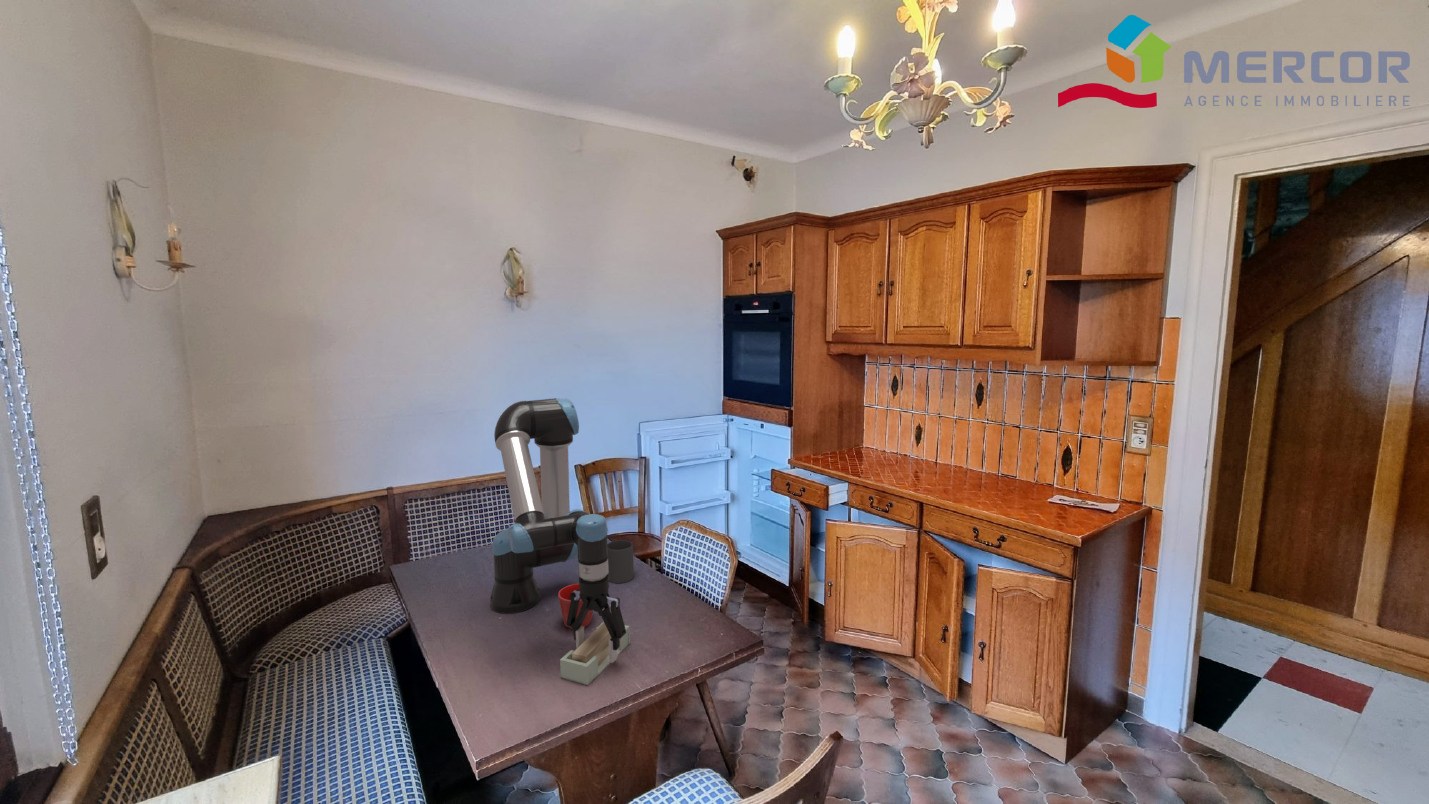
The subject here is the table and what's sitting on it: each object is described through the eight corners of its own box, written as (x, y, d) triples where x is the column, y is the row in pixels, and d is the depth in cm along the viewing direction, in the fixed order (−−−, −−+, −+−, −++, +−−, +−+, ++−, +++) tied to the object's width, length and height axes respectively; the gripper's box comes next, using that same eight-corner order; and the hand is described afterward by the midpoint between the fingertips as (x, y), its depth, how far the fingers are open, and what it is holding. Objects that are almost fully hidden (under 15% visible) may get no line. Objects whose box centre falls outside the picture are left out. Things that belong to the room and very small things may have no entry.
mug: (639, 577, 199) (638, 544, 197) (616, 586, 193) (615, 552, 191) (617, 565, 209) (616, 534, 207) (595, 573, 203) (593, 541, 201)
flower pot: (603, 616, 173) (602, 585, 172) (583, 634, 163) (582, 602, 162) (573, 610, 177) (571, 580, 176) (552, 628, 167) (550, 597, 165)
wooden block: (573, 675, 144) (572, 653, 143) (605, 641, 159) (604, 621, 158) (587, 678, 143) (586, 656, 142) (618, 644, 157) (617, 624, 157)
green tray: (560, 678, 144) (560, 659, 143) (605, 637, 162) (604, 620, 161) (587, 685, 141) (587, 666, 140) (629, 643, 159) (629, 626, 158)
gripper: (549, 574, 149) (553, 654, 152) (623, 589, 140) (626, 673, 143) (567, 563, 155) (570, 639, 159) (638, 576, 147) (641, 657, 150)
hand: (597, 655), depth 151 cm, fingers open, 9 cm apart
